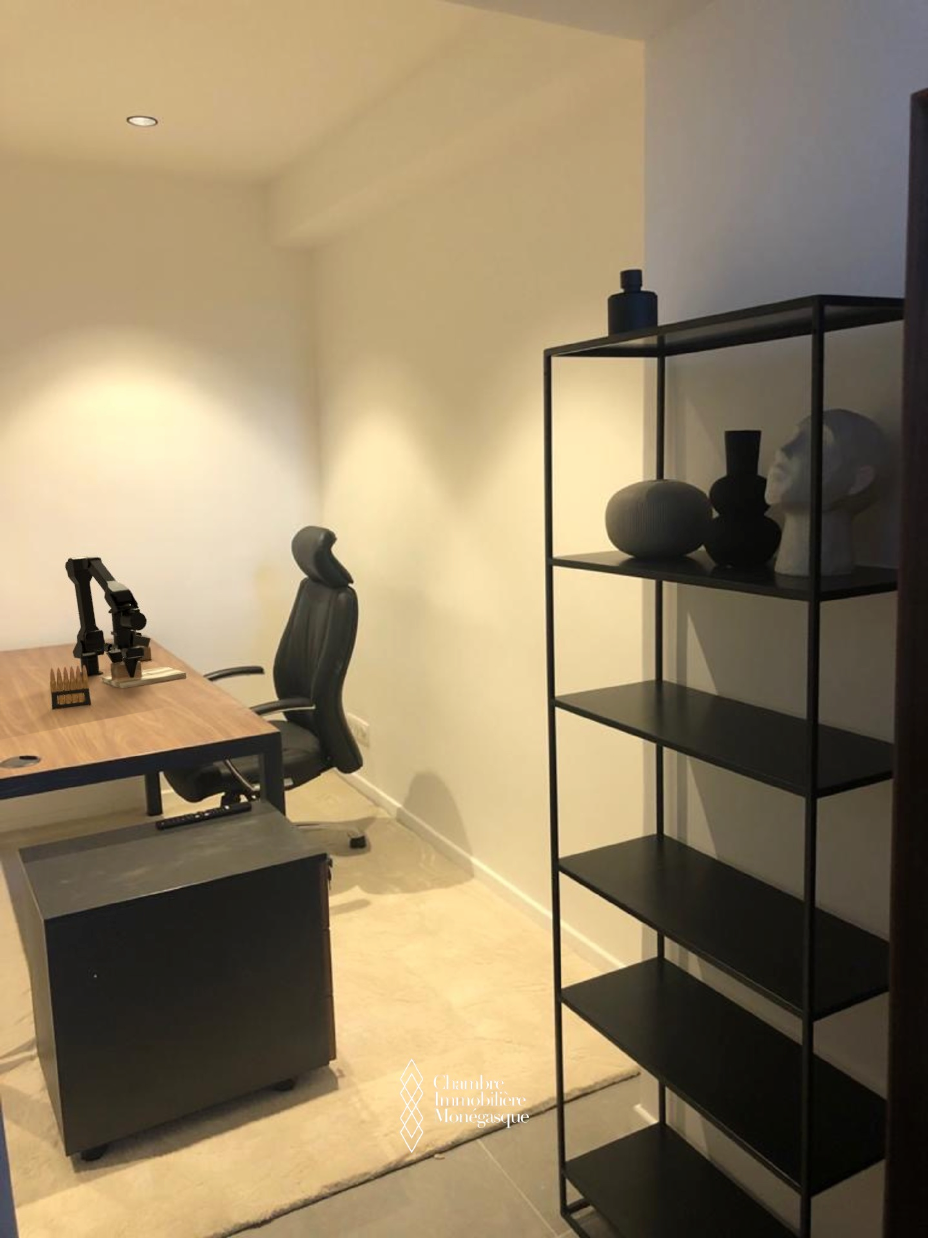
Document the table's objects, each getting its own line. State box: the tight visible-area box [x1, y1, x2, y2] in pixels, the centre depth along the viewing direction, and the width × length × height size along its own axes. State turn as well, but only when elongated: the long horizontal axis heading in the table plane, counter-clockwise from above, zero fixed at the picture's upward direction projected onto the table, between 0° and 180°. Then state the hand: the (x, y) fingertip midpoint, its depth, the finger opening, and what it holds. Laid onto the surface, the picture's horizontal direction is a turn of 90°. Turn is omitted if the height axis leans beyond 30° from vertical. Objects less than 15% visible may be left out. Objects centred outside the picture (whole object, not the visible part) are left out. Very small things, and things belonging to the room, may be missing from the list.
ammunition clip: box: [49, 665, 92, 711], centre depth 296 cm, size 11×2×12 cm, turn 113°
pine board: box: [101, 666, 187, 689], centre depth 332 cm, size 15×22×2 cm
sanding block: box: [109, 660, 142, 681], centre depth 328 cm, size 5×8×5 cm, turn 131°
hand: (126, 675), depth 328 cm, fingers open, 9 cm apart
